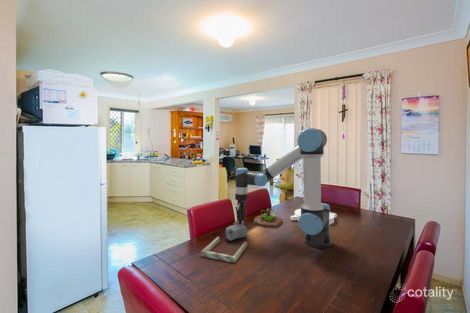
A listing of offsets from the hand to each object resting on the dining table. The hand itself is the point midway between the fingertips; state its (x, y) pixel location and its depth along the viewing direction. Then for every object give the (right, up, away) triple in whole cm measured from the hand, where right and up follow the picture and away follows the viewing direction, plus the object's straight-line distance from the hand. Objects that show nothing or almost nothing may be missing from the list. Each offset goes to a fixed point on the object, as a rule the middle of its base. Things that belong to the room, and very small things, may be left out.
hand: (240, 230), depth 152 cm
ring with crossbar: (+55, -1, +30) cm, 62 cm away
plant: (+20, -1, +21) cm, 29 cm away
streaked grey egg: (-3, -3, -7) cm, 8 cm away
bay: (-8, -4, -23) cm, 24 cm away
